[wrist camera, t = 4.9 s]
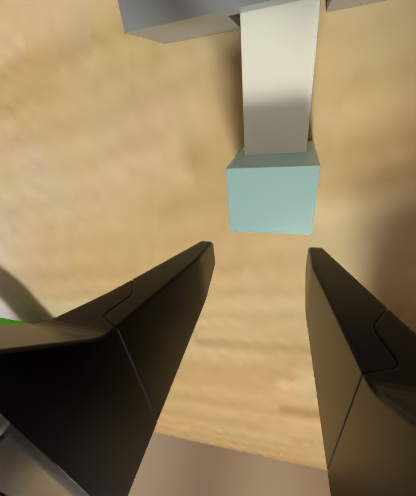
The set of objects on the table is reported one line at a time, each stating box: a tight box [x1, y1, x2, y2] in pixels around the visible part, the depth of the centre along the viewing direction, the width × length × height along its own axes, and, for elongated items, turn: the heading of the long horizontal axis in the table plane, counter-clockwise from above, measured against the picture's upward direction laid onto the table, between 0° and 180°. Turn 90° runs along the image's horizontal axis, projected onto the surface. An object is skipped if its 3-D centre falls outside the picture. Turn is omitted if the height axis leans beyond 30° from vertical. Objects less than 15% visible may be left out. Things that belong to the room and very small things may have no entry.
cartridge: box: [226, 0, 320, 235], centre depth 12 cm, size 18×4×6 cm, turn 7°
